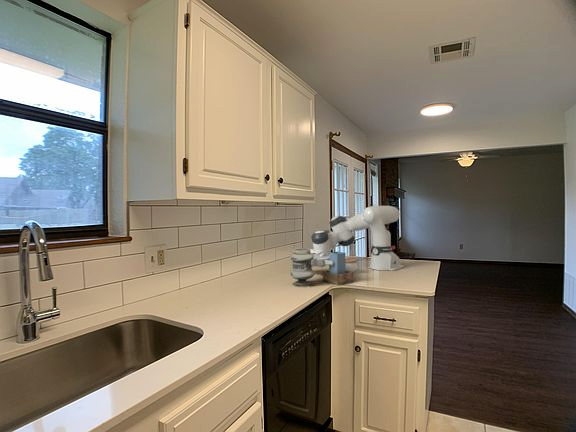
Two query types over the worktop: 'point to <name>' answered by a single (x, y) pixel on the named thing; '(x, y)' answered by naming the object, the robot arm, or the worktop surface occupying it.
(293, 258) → the apothecary jar
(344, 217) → the robot arm
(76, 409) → the worktop surface
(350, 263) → the lidded jar
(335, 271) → the slate crate
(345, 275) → the walnut crate
